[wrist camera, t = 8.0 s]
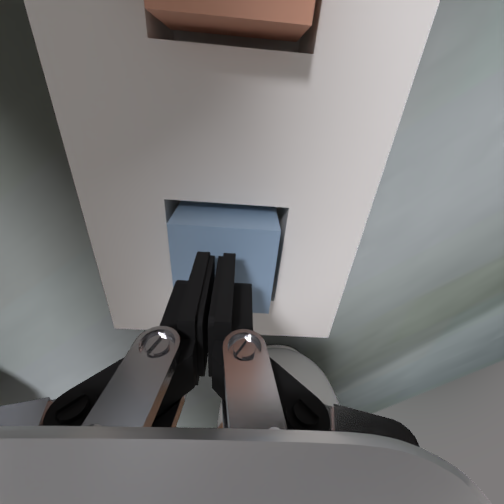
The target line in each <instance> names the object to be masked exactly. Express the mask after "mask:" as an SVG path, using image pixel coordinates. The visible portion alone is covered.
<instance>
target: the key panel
mask: <svg viewBox="0 0 504 504" xmlns="http://www.w3.org/2000/svg"><path fill="white" fill-rule="evenodd" d="M439 2H440V0H315V7H314V13H313V20H312V26H311V27H310V28H309V29H308V30H307V31H306V32H305V33H304V34H303V35H302V36H301V38H300V39H299V40H298V41H297V42H291V41H281V40H271V39H260V38H250V37H240V36H230V35H220V34H210V33H200V32H190V31H180V30H171V29H169V28H168V27H167V26H166V25H165V24H163V23H162V22H161V21H160V20H158V19H157V18H156V17H155V16H154V15H152V14H151V13H150V12H149V11H148V10H146V9H145V5H144V0H24V4H25V7H26V11H27V15H28V18H29V22H30V25H31V29H32V33H33V36H34V40H35V43H36V47H37V51H38V54H39V58H40V61H41V65H42V68H43V72H44V76H45V79H46V83H47V86H48V90H49V94H50V97H51V101H52V104H53V108H54V112H55V115H56V119H57V122H58V126H59V130H60V133H61V137H62V140H63V144H64V148H65V151H66V155H67V158H68V162H69V166H70V169H71V173H72V176H73V180H74V184H75V187H76V191H77V194H78V198H79V202H80V205H81V209H82V212H83V216H84V220H85V223H86V227H87V230H88V234H89V238H90V241H91V245H92V248H93V252H94V256H95V259H96V263H97V266H98V270H99V273H100V277H101V281H102V284H103V288H104V291H105V295H106V299H107V302H108V306H109V309H110V313H111V317H112V320H113V324H114V327H115V329H137V330H147V329H150V328H152V327H156V326H160V323H161V320H162V317H163V315H164V312H165V309H166V307H167V304H168V301H169V298H170V296H171V293H172V290H173V281H172V271H171V262H170V252H169V242H168V232H167V222H168V221H169V219H170V218H171V216H172V214H173V213H174V211H175V210H176V208H177V207H178V205H179V203H180V202H181V200H183V201H197V202H212V203H226V204H241V205H256V206H270V207H275V208H276V212H277V216H278V220H279V225H280V229H281V235H280V241H279V248H278V255H277V262H276V268H275V275H274V282H273V288H272V295H271V302H270V308H269V314H265V313H253V331H255V332H256V333H258V334H260V335H274V336H297V337H320V338H328V337H329V334H330V331H331V328H332V325H333V322H334V319H335V315H336V312H337V309H338V306H339V303H340V300H341V297H342V294H343V291H344V288H345V285H346V282H347V279H348V276H349V273H350V270H351V267H352V264H353V261H354V258H355V255H356V252H357V249H358V246H359V243H360V240H361V237H362V234H363V231H364V228H365V225H366V222H367V219H368V216H369V213H370V210H371V207H372V204H373V201H374V198H375V195H376V192H377V189H378V186H379V183H380V180H381V177H382V174H383V171H384V168H385V165H386V162H387V159H388V156H389V153H390V150H391V147H392V144H393V141H394V138H395V135H396V132H397V128H398V125H399V122H400V119H401V116H402V113H403V110H404V107H405V104H406V101H407V98H408V95H409V92H410V89H411V86H412V83H413V80H414V77H415V74H416V71H417V68H418V65H419V62H420V59H421V56H422V53H423V50H424V47H425V44H426V41H427V38H428V35H429V32H430V29H431V26H432V23H433V20H434V17H435V14H436V11H437V8H438V5H439Z"/></svg>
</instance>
